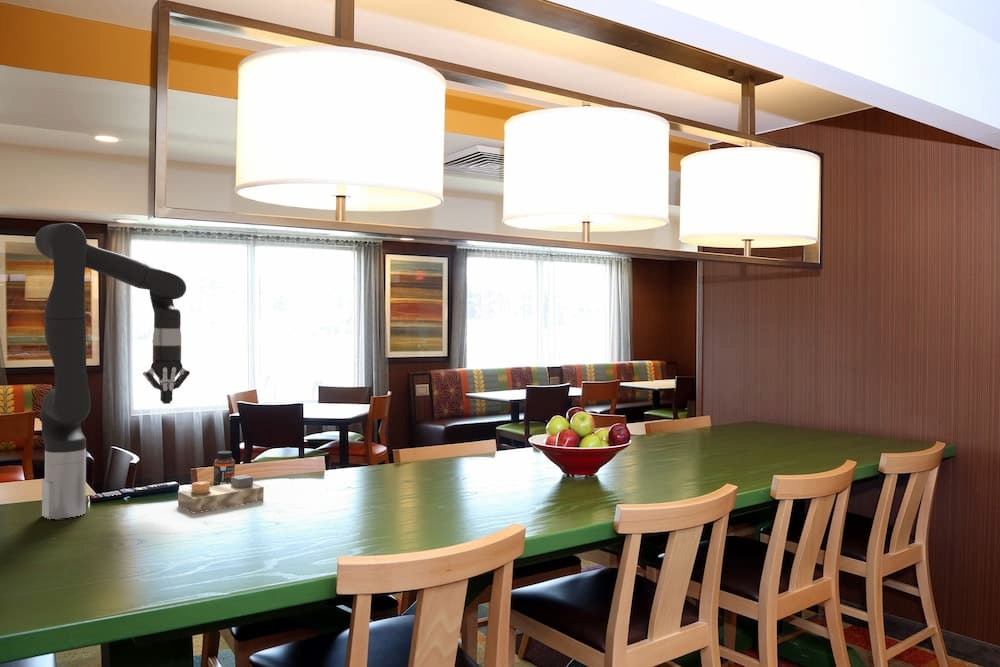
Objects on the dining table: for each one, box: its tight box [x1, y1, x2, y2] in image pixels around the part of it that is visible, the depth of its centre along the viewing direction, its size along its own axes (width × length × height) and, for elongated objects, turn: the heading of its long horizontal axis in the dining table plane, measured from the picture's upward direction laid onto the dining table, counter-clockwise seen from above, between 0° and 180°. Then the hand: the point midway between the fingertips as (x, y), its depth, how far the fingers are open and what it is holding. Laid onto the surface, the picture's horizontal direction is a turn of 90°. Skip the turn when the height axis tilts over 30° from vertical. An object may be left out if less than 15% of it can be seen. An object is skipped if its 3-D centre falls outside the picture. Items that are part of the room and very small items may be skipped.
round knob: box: [191, 481, 211, 496], centre depth 203 cm, size 5×5×6 cm
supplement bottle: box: [213, 450, 236, 486], centre depth 224 cm, size 6×6×11 cm
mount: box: [177, 482, 265, 513], centre depth 208 cm, size 20×10×4 cm, turn 136°
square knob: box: [231, 474, 254, 489], centre depth 212 cm, size 4×4×6 cm
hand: (166, 403), depth 216 cm, fingers closed
